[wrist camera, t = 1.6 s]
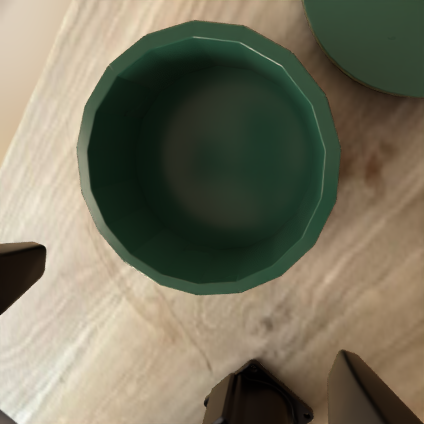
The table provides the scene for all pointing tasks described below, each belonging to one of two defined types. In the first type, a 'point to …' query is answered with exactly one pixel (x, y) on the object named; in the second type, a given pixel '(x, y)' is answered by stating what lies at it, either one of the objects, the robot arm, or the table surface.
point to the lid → (373, 41)
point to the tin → (208, 158)
